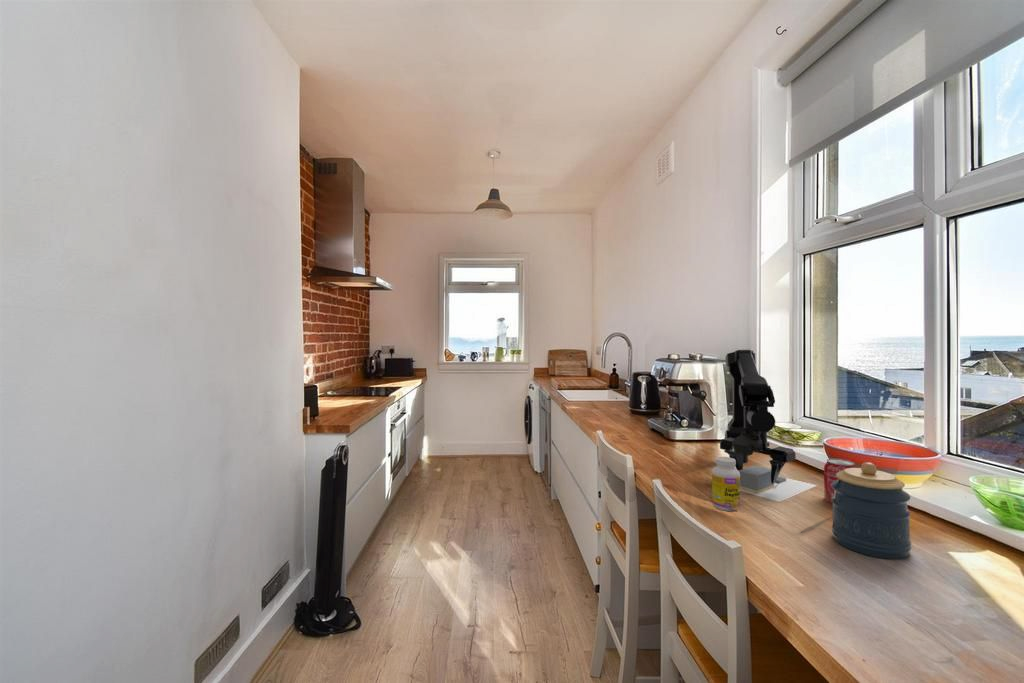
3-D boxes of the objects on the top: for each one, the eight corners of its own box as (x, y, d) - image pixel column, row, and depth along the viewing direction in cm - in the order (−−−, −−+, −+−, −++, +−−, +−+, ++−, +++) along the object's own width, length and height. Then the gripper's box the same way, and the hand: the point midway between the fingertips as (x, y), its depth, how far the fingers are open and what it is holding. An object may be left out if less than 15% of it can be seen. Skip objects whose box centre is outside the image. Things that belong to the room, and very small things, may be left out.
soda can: (846, 502, 115) (845, 457, 115) (865, 513, 108) (864, 465, 108) (818, 502, 116) (817, 457, 116) (835, 512, 109) (834, 465, 109)
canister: (880, 564, 84) (879, 474, 84) (817, 536, 96) (816, 457, 96) (927, 555, 87) (926, 468, 87) (861, 528, 100) (859, 452, 100)
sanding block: (755, 482, 128) (754, 465, 128) (774, 487, 124) (774, 469, 124) (738, 488, 123) (738, 470, 123) (757, 493, 119) (757, 475, 119)
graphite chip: (772, 477, 132) (772, 474, 132) (786, 480, 129) (786, 478, 129) (765, 480, 130) (765, 477, 130) (779, 483, 127) (779, 480, 127)
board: (754, 474, 140) (754, 470, 140) (817, 490, 125) (817, 485, 125) (714, 488, 128) (714, 483, 128) (779, 507, 113) (779, 501, 113)
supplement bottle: (723, 513, 110) (722, 463, 110) (706, 504, 116) (706, 456, 116) (746, 511, 111) (745, 461, 111) (728, 501, 117) (728, 454, 117)
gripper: (708, 423, 127) (709, 476, 127) (775, 434, 111) (776, 494, 111) (729, 418, 133) (730, 469, 133) (796, 428, 118) (797, 485, 118)
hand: (756, 478), depth 124 cm, fingers open, 9 cm apart
